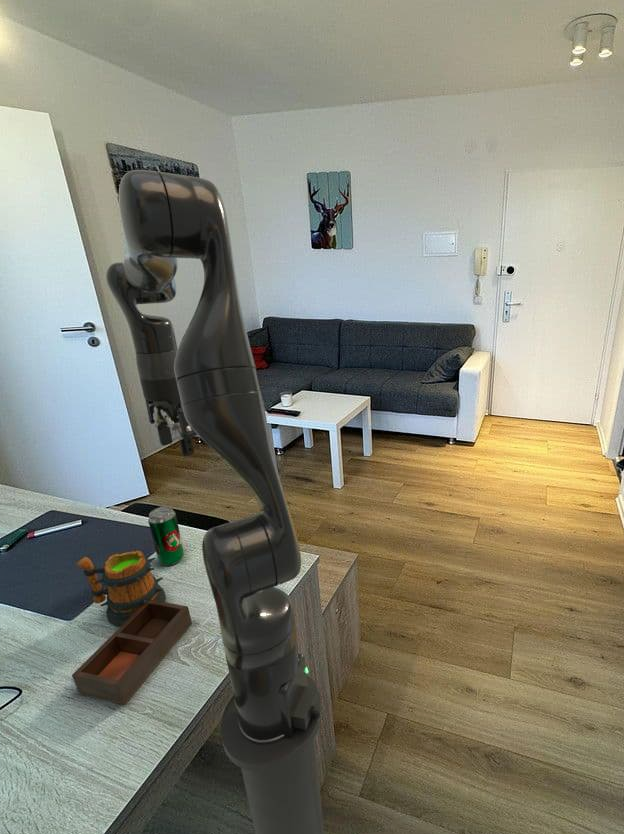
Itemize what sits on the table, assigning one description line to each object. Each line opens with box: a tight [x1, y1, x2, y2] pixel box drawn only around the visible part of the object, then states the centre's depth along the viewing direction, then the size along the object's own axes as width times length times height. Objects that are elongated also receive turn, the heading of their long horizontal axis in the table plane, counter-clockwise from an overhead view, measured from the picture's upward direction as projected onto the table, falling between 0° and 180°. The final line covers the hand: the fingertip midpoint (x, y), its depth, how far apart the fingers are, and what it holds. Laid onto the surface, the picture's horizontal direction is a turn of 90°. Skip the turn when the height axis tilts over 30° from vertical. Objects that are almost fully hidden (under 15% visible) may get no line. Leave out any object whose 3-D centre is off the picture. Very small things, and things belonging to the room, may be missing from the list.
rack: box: [71, 599, 193, 706], centre depth 71 cm, size 8×15×4 cm, turn 169°
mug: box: [75, 549, 167, 628], centre depth 79 cm, size 13×10×12 cm
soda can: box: [147, 506, 185, 566], centre depth 92 cm, size 5×5×12 cm
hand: (177, 449), depth 89 cm, fingers open, 8 cm apart
